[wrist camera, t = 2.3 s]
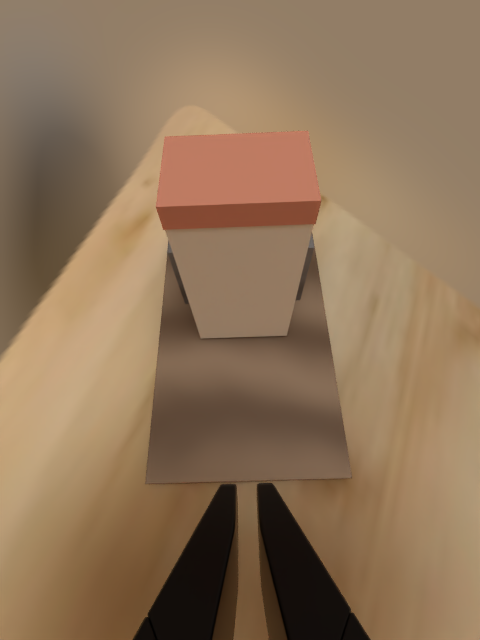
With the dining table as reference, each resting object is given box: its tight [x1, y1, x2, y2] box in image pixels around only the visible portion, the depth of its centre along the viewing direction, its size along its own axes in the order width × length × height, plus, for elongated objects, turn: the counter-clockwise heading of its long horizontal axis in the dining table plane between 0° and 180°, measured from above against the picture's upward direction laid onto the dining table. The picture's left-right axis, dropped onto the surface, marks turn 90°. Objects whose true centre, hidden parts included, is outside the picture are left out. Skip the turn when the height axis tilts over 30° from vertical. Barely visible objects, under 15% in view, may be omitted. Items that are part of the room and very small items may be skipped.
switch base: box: [145, 234, 352, 484], centre depth 21 cm, size 19×12×7 cm, turn 1°
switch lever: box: [156, 131, 321, 339], centre depth 18 cm, size 4×6×12 cm
